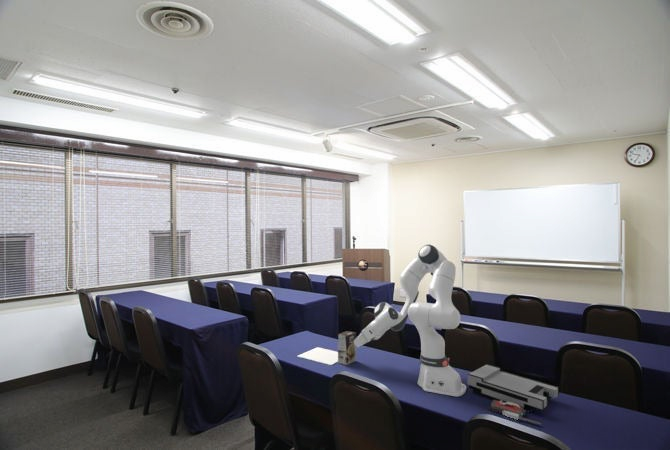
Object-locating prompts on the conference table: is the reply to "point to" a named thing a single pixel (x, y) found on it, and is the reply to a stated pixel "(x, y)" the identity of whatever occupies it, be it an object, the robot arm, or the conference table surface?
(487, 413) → the conference table surface
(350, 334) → the coffee box
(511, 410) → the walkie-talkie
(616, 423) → the conference table surface
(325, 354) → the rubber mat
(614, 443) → the conference table surface
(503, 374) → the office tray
